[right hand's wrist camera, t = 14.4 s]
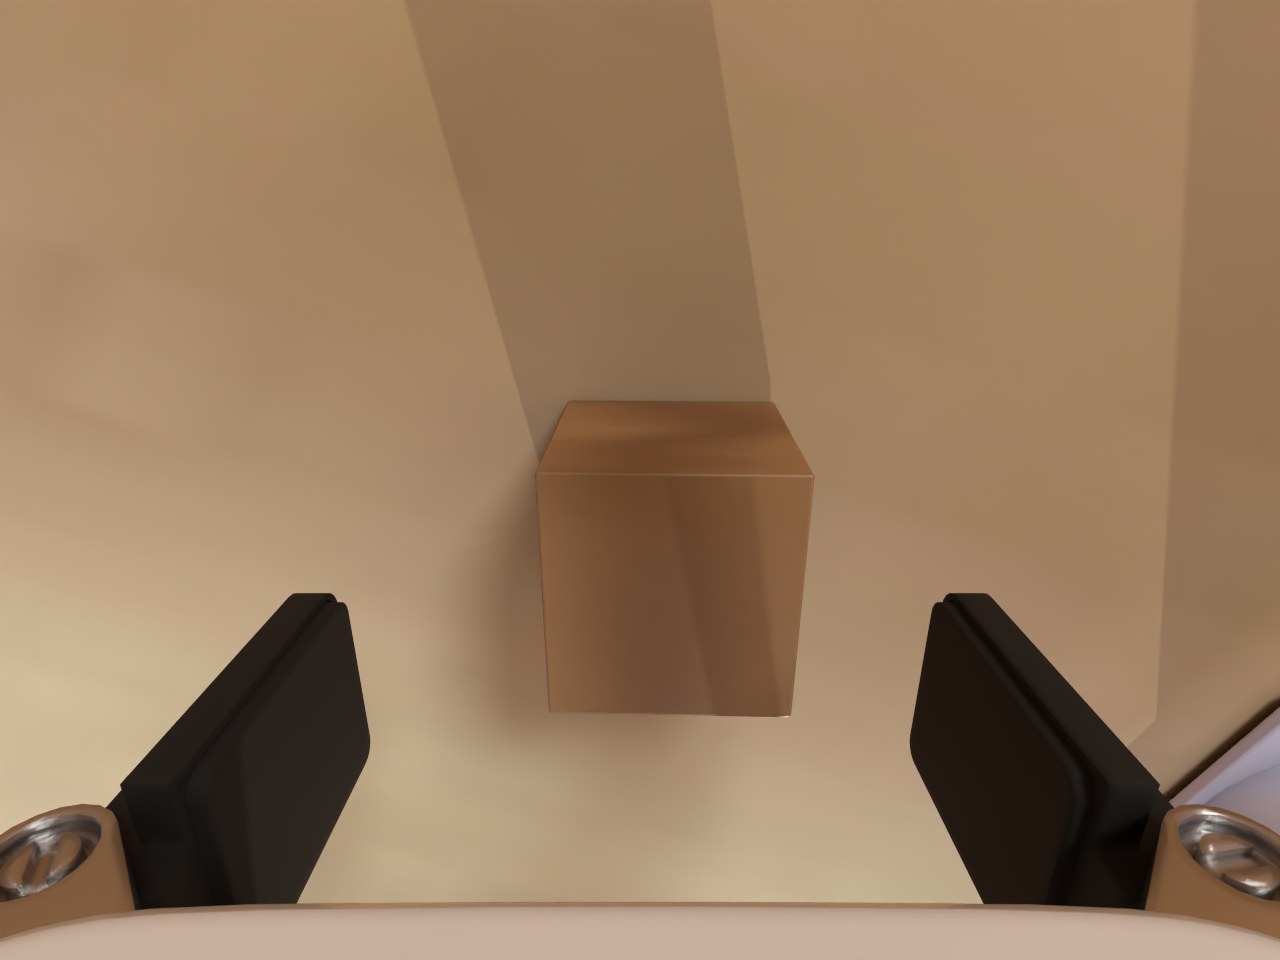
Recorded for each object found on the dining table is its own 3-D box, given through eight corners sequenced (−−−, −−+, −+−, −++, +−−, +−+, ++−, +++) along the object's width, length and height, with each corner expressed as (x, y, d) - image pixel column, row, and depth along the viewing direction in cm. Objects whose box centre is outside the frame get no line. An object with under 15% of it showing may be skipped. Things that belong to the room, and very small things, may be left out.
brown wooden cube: (774, 401, 16) (815, 475, 12) (760, 594, 18) (791, 718, 14) (567, 400, 16) (534, 472, 12) (575, 592, 18) (548, 713, 14)
